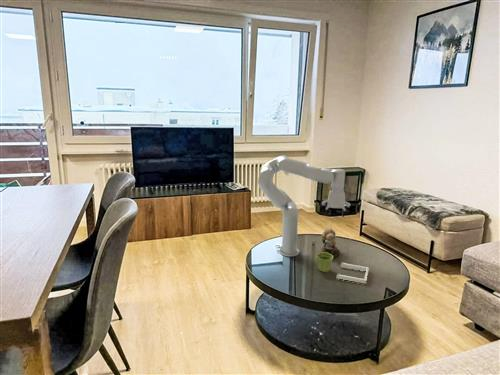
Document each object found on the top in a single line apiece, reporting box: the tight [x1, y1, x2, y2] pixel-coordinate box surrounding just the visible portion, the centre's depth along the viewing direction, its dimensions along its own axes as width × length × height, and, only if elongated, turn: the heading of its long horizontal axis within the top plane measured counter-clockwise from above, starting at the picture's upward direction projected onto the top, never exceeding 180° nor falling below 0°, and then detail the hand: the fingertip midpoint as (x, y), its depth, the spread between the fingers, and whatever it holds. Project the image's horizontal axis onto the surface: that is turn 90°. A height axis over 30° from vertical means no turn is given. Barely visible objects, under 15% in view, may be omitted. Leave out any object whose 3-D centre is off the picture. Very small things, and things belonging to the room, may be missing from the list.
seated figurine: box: [319, 227, 340, 259], centre depth 214 cm, size 18×12×17 cm, turn 168°
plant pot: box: [316, 252, 334, 273], centre depth 194 cm, size 9×9×9 cm
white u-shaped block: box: [336, 261, 370, 284], centre depth 189 cm, size 15×15×3 cm
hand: (334, 215), depth 210 cm, fingers open, 9 cm apart
